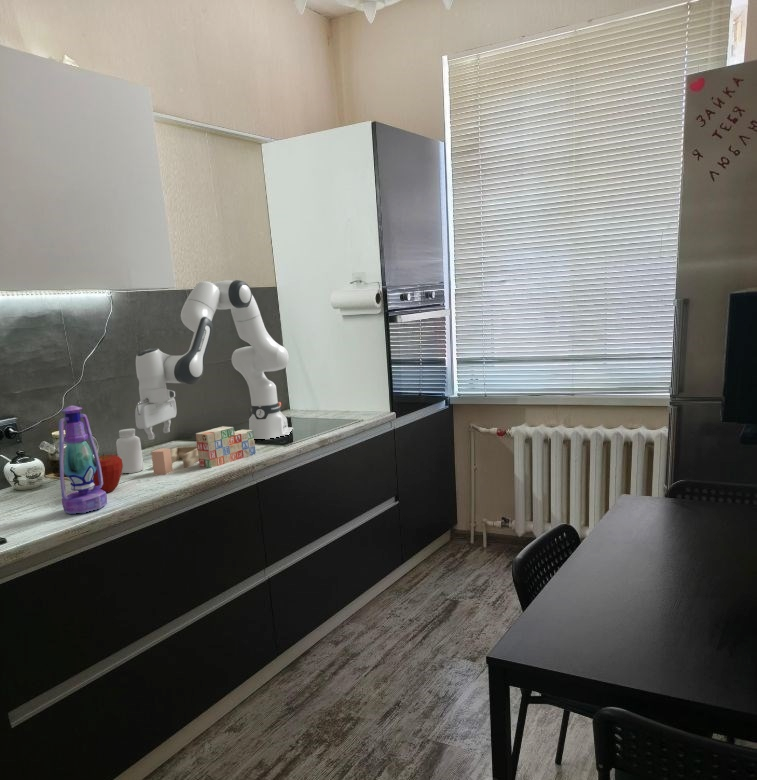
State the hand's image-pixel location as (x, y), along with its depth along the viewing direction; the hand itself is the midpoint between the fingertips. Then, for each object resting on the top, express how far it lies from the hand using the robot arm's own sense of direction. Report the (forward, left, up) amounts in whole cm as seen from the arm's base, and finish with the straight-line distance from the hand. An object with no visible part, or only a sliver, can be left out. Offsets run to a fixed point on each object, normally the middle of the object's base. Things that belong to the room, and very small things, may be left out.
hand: (159, 436), depth 209 cm
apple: (+21, -7, -13) cm, 26 cm away
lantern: (+38, -2, -13) cm, 41 cm away
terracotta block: (0, 0, -13) cm, 13 cm away
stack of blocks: (-15, +17, -13) cm, 26 cm away
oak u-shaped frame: (-13, 0, -13) cm, 18 cm away
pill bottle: (-3, -14, -13) cm, 19 cm away
